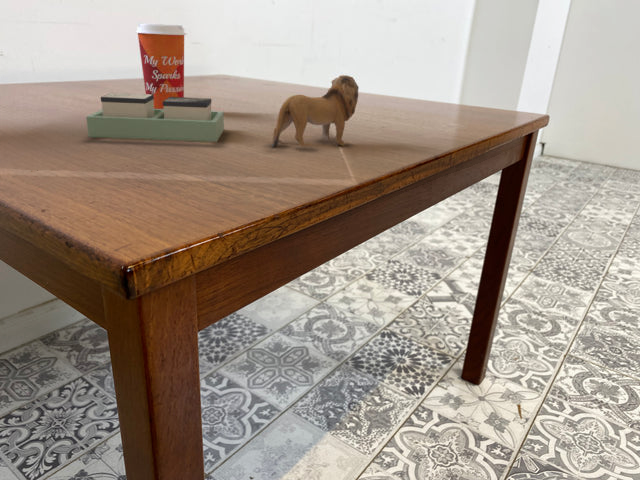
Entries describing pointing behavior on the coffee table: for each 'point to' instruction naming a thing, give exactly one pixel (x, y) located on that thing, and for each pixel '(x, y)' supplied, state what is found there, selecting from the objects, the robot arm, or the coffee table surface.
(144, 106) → the cream block
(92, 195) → the coffee table surface
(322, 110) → the lion figurine
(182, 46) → the paper cup
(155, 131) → the green divided tray
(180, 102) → the pad
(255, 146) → the coffee table surface
